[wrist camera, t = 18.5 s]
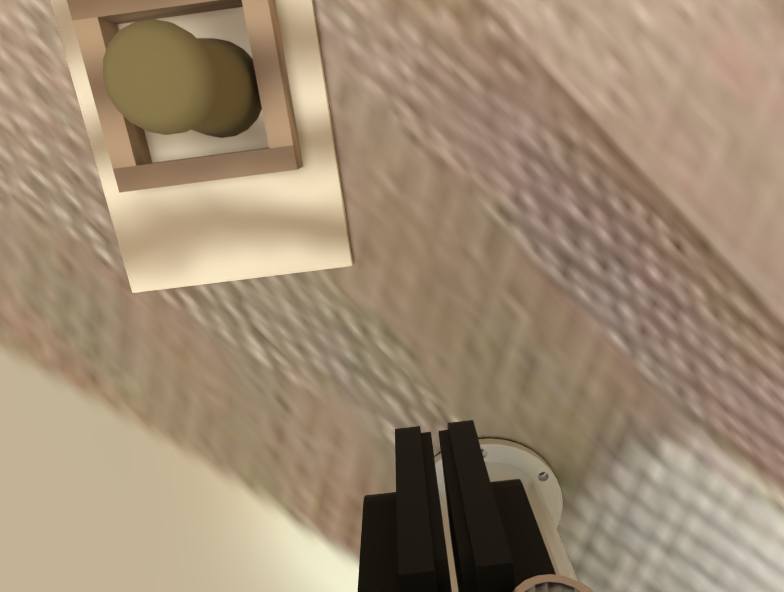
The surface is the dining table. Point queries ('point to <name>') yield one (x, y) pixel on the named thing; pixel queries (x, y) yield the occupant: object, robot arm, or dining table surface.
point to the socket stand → (217, 151)
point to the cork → (180, 81)
